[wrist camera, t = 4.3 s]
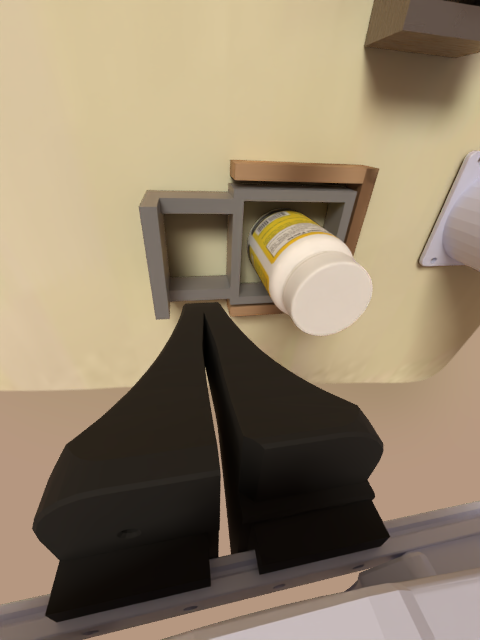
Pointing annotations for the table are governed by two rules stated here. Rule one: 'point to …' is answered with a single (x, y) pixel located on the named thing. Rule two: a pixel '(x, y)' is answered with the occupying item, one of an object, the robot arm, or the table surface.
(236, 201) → the gray divided frame
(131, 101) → the table surface
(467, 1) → the plunger housing
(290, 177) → the housing
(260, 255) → the supplement bottle
